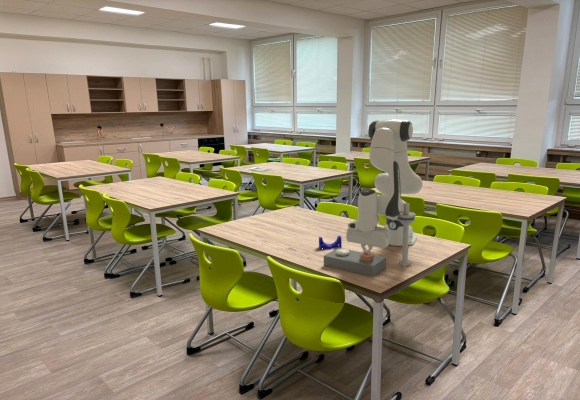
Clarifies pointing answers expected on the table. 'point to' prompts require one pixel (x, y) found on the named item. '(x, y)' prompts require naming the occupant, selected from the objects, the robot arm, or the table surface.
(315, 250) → the table surface
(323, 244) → the cable clip
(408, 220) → the model tower
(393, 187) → the robot arm
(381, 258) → the console
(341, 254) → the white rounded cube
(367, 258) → the terracotta plunger
